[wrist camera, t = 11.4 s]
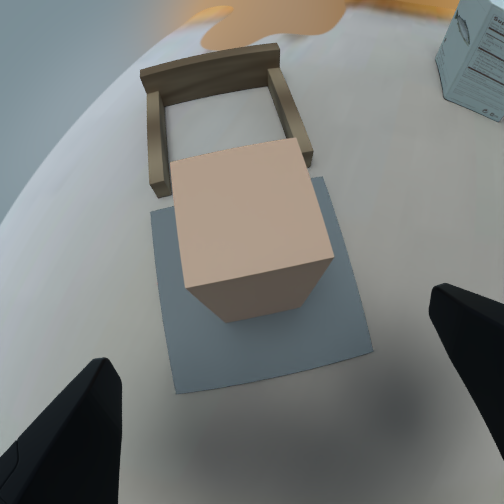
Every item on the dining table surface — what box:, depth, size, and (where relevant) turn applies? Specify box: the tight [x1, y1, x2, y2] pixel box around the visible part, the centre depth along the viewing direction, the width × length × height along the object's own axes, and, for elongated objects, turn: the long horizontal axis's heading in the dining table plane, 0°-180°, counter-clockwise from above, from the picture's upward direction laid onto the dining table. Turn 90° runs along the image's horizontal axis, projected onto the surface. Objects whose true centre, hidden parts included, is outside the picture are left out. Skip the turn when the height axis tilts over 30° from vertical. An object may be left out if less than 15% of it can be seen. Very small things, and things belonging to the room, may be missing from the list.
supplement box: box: [435, 0, 504, 122], centre depth 19 cm, size 7×7×13 cm
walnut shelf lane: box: [140, 43, 313, 198], centre depth 22 cm, size 10×11×4 cm
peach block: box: [170, 137, 334, 323], centre depth 15 cm, size 4×4×10 cm
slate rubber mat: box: [150, 176, 373, 394], centre depth 20 cm, size 12×12×1 cm
